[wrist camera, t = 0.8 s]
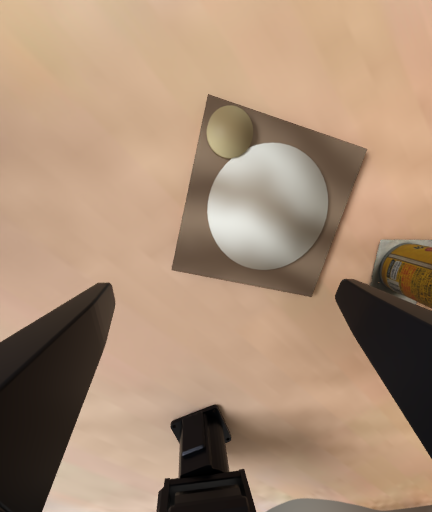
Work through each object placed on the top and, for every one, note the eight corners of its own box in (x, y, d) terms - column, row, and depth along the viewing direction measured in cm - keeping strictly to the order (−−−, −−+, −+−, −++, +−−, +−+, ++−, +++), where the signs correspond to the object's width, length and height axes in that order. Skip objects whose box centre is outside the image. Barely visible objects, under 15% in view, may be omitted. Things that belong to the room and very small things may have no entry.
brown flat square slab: (306, 293, 26) (315, 300, 24) (172, 266, 23) (170, 272, 21) (359, 151, 22) (373, 147, 20) (207, 99, 19) (208, 89, 17)
